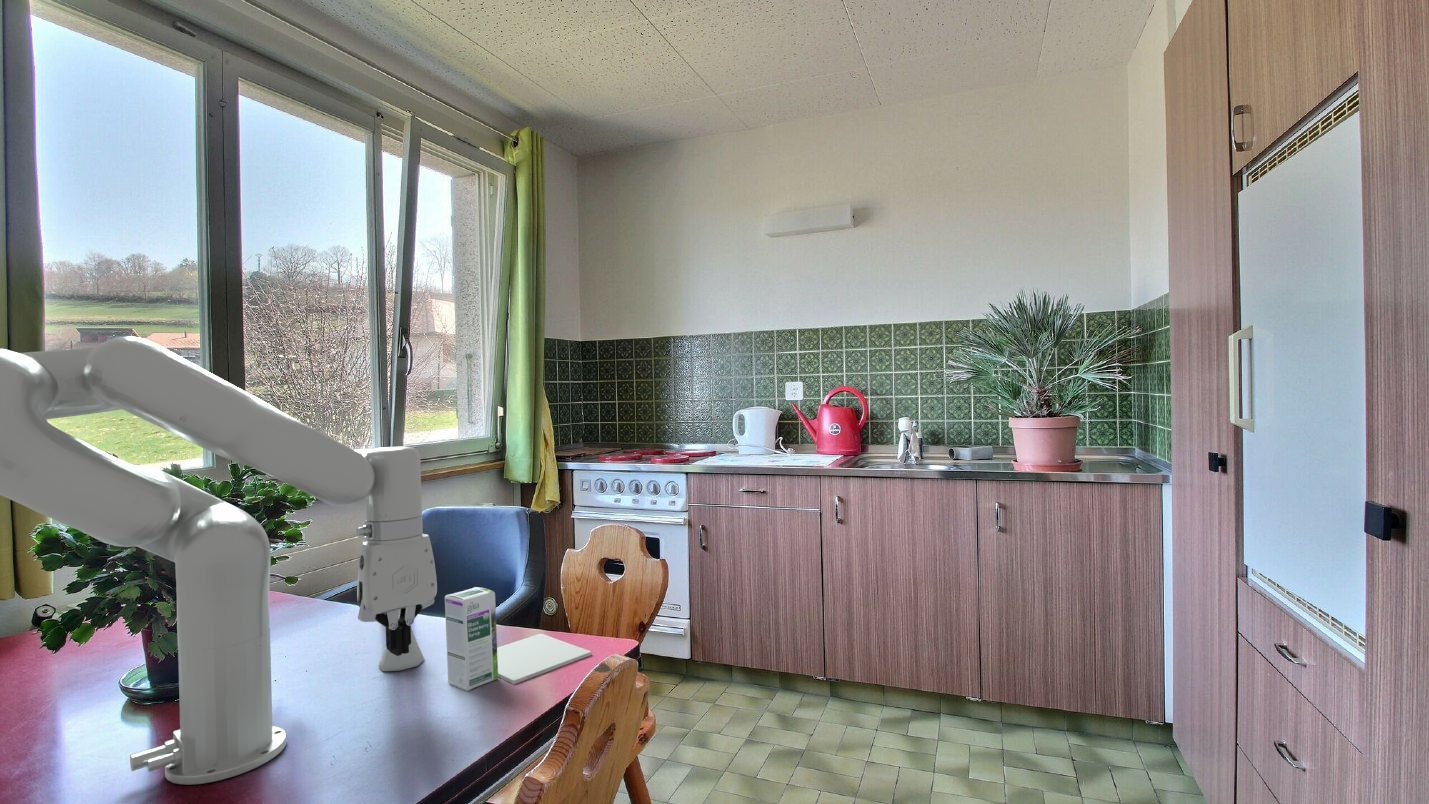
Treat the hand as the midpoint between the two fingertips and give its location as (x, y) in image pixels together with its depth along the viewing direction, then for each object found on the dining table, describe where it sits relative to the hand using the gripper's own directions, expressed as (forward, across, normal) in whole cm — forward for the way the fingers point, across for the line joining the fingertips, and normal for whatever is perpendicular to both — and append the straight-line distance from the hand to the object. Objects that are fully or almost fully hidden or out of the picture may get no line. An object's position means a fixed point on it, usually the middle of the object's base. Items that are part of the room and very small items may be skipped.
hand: (399, 652), depth 98 cm
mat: (+8, +23, +1) cm, 24 cm away
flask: (+8, +8, +17) cm, 20 cm away
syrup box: (+8, +12, 0) cm, 14 cm away
